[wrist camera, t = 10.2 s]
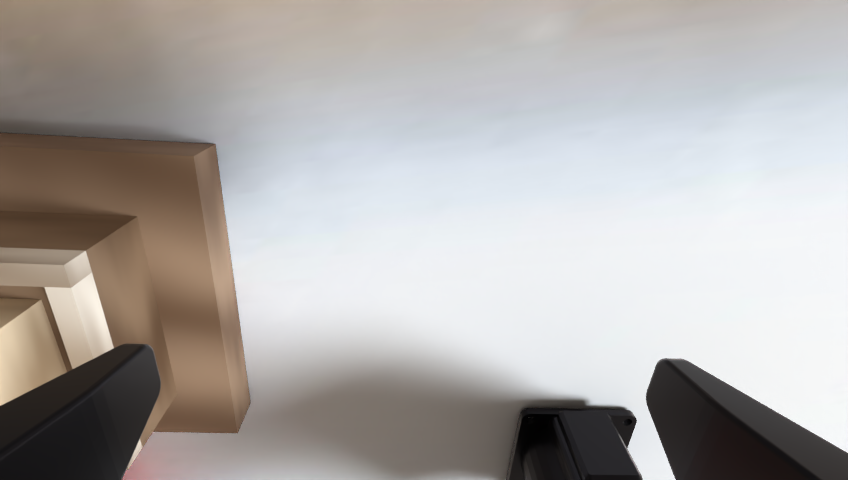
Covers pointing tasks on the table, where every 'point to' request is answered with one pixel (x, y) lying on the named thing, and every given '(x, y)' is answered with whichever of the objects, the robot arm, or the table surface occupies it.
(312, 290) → the table surface
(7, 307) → the maple block
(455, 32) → the table surface
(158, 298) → the tower base
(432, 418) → the table surface
